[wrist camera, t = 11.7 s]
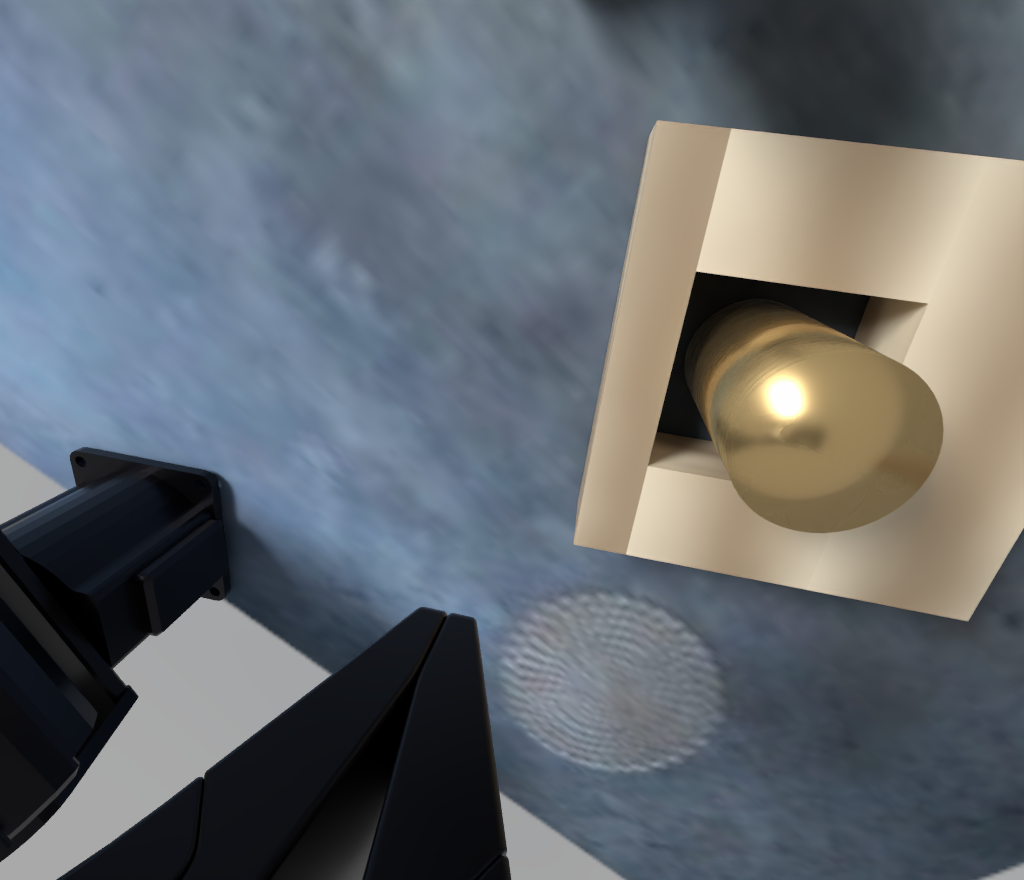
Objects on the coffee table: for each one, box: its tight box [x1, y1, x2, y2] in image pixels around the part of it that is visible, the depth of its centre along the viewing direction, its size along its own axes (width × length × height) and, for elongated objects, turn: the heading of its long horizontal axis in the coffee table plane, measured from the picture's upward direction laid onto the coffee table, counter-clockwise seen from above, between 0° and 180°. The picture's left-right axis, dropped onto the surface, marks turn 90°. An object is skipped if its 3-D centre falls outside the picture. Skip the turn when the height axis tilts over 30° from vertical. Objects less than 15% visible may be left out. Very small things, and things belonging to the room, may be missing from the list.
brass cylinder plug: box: [684, 299, 944, 533], centre depth 14 cm, size 4×4×7 cm
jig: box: [574, 120, 1024, 621], centre depth 16 cm, size 12×12×3 cm
